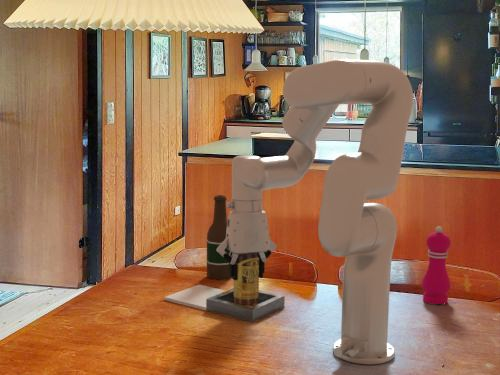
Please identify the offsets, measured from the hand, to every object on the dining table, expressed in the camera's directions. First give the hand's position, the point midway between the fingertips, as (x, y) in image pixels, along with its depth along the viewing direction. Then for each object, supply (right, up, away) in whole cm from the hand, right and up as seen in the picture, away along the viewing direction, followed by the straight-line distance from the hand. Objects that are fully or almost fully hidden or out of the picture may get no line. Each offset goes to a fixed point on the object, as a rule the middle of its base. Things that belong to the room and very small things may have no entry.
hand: (246, 277), depth 162 cm
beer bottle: (-8, -4, +30) cm, 31 cm away
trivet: (-12, -7, +9) cm, 16 cm away
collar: (0, -8, +1) cm, 8 cm away
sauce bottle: (0, -7, +1) cm, 7 cm away
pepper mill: (+49, -8, +9) cm, 51 cm away
